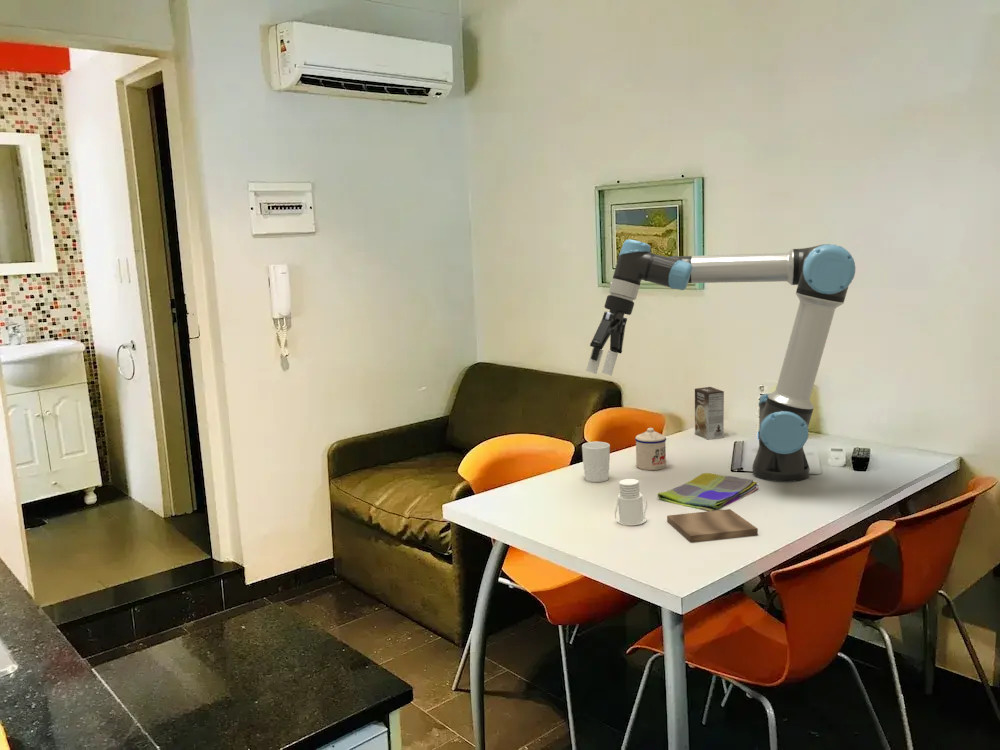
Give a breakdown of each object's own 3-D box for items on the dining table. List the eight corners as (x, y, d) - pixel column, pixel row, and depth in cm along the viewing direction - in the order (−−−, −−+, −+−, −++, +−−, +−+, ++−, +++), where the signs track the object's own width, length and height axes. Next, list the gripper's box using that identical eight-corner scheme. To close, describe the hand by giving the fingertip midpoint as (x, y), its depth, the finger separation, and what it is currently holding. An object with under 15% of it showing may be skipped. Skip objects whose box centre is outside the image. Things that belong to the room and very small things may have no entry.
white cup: (610, 474, 232) (609, 441, 230) (611, 482, 224) (610, 448, 223) (582, 475, 233) (581, 441, 231) (582, 483, 225) (581, 448, 224)
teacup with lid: (656, 472, 232) (655, 433, 230) (629, 467, 238) (628, 429, 236) (677, 463, 241) (676, 425, 239) (651, 458, 247) (650, 421, 245)
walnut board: (729, 515, 194) (729, 509, 194) (757, 534, 180) (757, 528, 180) (667, 521, 192) (667, 515, 191) (690, 542, 178) (690, 535, 178)
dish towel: (653, 501, 209) (653, 490, 208) (703, 479, 226) (703, 469, 225) (713, 514, 196) (713, 504, 196) (761, 490, 213) (761, 480, 213)
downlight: (642, 514, 197) (639, 475, 196) (652, 523, 190) (650, 483, 189) (611, 519, 196) (608, 480, 194) (620, 528, 189) (617, 488, 188)
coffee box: (693, 434, 275) (693, 388, 273) (710, 432, 277) (710, 386, 274) (707, 439, 267) (707, 392, 264) (724, 437, 268) (724, 390, 266)
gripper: (621, 299, 228) (600, 371, 230) (594, 288, 205) (571, 367, 207) (646, 306, 225) (624, 378, 227) (621, 295, 202) (597, 375, 204)
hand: (599, 373), depth 217 cm, fingers open, 13 cm apart
